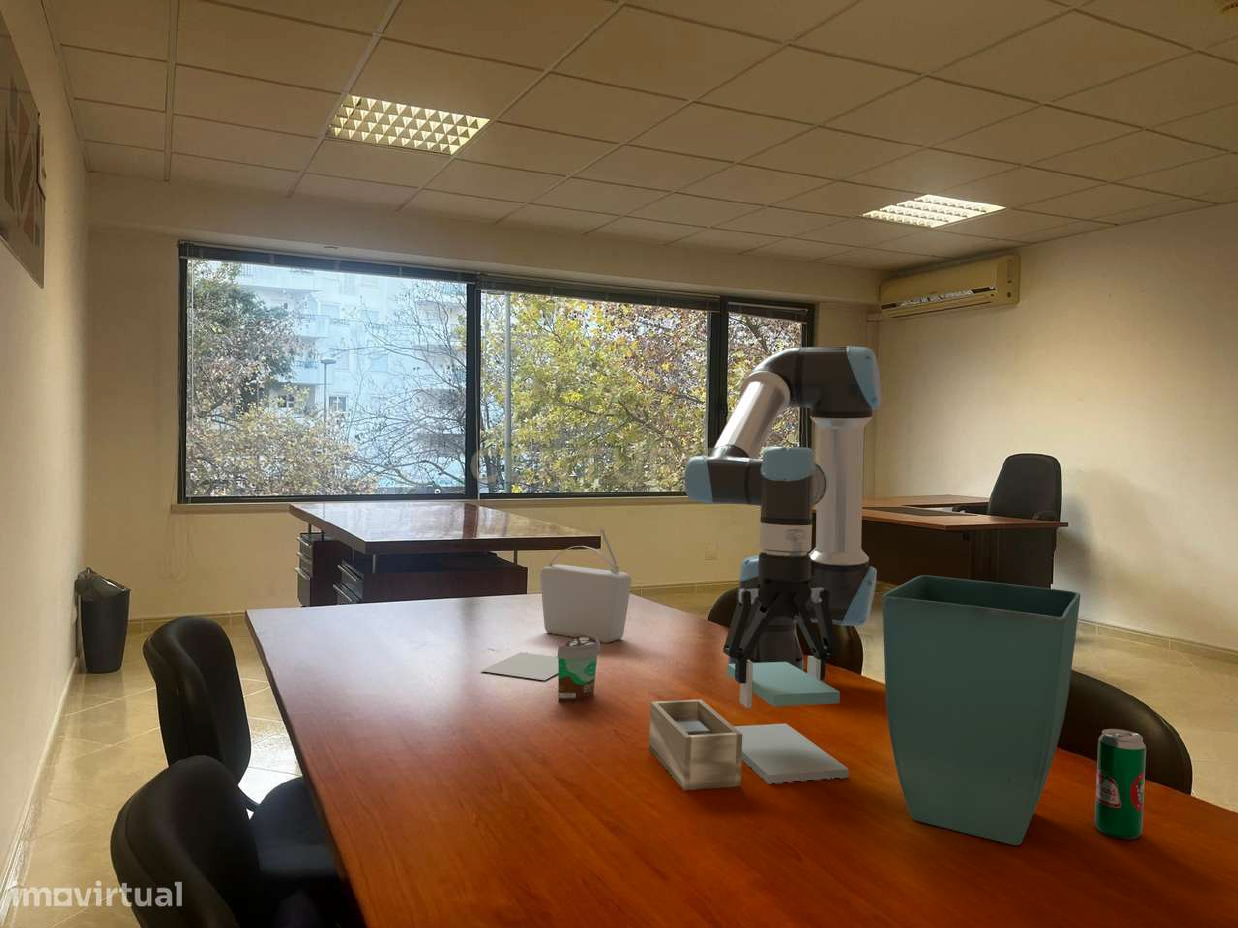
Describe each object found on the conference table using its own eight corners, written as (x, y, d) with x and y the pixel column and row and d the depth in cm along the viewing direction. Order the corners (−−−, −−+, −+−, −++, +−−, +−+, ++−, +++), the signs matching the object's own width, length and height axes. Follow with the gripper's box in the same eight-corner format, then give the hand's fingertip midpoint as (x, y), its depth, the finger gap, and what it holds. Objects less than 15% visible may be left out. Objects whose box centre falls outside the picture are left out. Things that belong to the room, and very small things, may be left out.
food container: (591, 707, 153) (592, 649, 153) (556, 704, 154) (557, 646, 154) (606, 688, 165) (608, 634, 165) (574, 685, 166) (575, 631, 166)
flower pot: (1052, 872, 98) (1064, 615, 97) (870, 825, 109) (879, 593, 108) (1071, 810, 115) (1081, 591, 114) (912, 775, 126) (920, 574, 125)
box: (699, 745, 135) (701, 699, 135) (740, 785, 120) (742, 734, 120) (648, 748, 133) (650, 701, 133) (683, 790, 118) (685, 737, 118)
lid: (786, 671, 141) (786, 661, 141) (839, 703, 125) (839, 691, 125) (726, 674, 139) (727, 663, 139) (773, 706, 122) (773, 694, 122)
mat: (785, 730, 143) (786, 723, 143) (848, 777, 124) (848, 769, 124) (715, 735, 140) (715, 727, 140) (768, 783, 121) (768, 774, 121)
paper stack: (438, 668, 177) (438, 664, 177) (500, 642, 200) (500, 639, 200) (544, 683, 168) (544, 679, 168) (597, 654, 191) (597, 651, 191)
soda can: (1085, 823, 111) (1089, 727, 111) (1124, 822, 112) (1128, 727, 111) (1111, 841, 106) (1115, 741, 106) (1151, 841, 107) (1156, 741, 106)
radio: (634, 639, 205) (637, 530, 205) (615, 645, 198) (618, 533, 198) (557, 626, 217) (560, 523, 216) (536, 631, 210) (539, 525, 209)
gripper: (721, 555, 125) (716, 714, 125) (867, 555, 131) (861, 707, 131) (703, 548, 132) (698, 699, 133) (842, 549, 138) (836, 692, 138)
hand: (779, 703), depth 132 cm, fingers closed on lid, 10 cm apart
